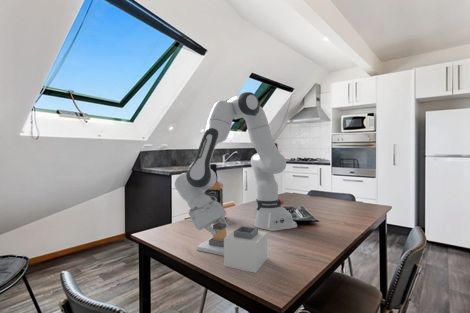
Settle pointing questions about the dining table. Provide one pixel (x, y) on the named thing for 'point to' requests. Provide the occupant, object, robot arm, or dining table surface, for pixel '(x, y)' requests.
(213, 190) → the whiskey bottle
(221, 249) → the low plate
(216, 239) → the tan piece
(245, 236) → the block
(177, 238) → the dining table surface
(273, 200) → the robot arm
